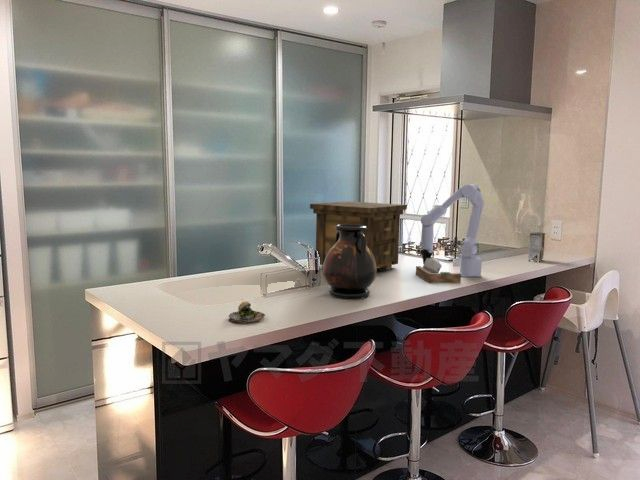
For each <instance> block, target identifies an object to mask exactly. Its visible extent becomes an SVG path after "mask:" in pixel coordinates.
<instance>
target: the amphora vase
mask: <svg viewBox="0 0 640 480" xmlns="http://www.w3.org/2000/svg"><path fill="white" fill-rule="evenodd" d="M335 229H337V230H338V232H337V234H336V239H335V244H334V245H333V247H332V248H331V249H330V250H329V251H328V253H327V255H326V257H325V260H324V264H323V269H322V275H323V278H324V280H325V282H326V283H327V284H328V285H329V286H330V288H329V289H328V294H329V295H330V296H333V297H335V298H338V299H343V300H344V299H345V300H358V299H359V300H360V299H364V298H367V297H368V296H369V295H370V293H371V292H370V289H369V287H371V285H372V284H373V283H374V281H375V280H376V278H377V272H378V268H377V267H376V261H375V258H374V255H373V253H372V252H371V250H370V249H369V248H368V247H367V244H366V238H365V236H364V235H363V234H362V232H363V231H365V230H367V227H366V226H364V225H357V224H340V225H336V226H335Z"/></svg>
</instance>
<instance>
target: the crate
mask: <svg viewBox="0 0 640 480" xmlns="http://www.w3.org/2000/svg"><path fill="white" fill-rule="evenodd" d="M407 206H408V205H407V204H400V203H399V204H396V203H382V202H381V203H380V202H364V201H352V200H351V201H350V200H349V201H336V202H333V201H332V202H319V203H310V204H309V209H310V210H312V211H313V214H316V216H315V217H316V218H315V220H316V225H315V231H316V232H315V251H316V250H317V251H318V254H319V257H320V265H319V266H321V269H322V270H323V264H324V260H325V257H326V255H327V253H328V251H329V250H330V249H331V248H332V247H333V245H334V244H335V239H336V234H337V232H338V230H337V229H335V226H336V225H340V224H357V225H364V226H366V227H367V230H365V231H363V232H362V234H363V235H364V236H365V238H366V244H367V247H368V248H369V249H370V250H371V252H372V253H373V255H374V258H375V261H376V267H377V269H381V268H385V269H384V270H389V269H388V268H390V269H392V268H393V266H394V265H398V264H399V252H400V251H399V250H400V247H399V246H400V224H401V223H400V221H401V215H404V211H406V210H407Z"/></svg>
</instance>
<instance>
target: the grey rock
mask: <svg viewBox="0 0 640 480" xmlns="http://www.w3.org/2000/svg"><path fill="white" fill-rule="evenodd" d="M442 266H443V265H442V264H441V263H440V261H439V259H438V258H435V257H433V258H432V257H431V258H426V261H425V263H424V264H423V265H422V268H424V269H426V270H427V271H429V272H431V273H440V272H441V268H442Z"/></svg>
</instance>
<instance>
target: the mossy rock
mask: <svg viewBox="0 0 640 480" xmlns="http://www.w3.org/2000/svg"><path fill="white" fill-rule="evenodd" d="M241 300H242V302H241V303H239V305H238V308H237V311H234V312H231V313H230V314H229V315H228V322H229V323H231V324H234V325H237V324H238V323H239V322H240V323H252V322H253V323H254V322H257V321H260V320H261V319H263V318H264V317H265V316H266V314H265V313H264V312H260V311H256V310H253V309H252V308H251V307H252V306H251V305H252V304H251V303H250V302H248V301H244V300H243V299H241Z"/></svg>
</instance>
